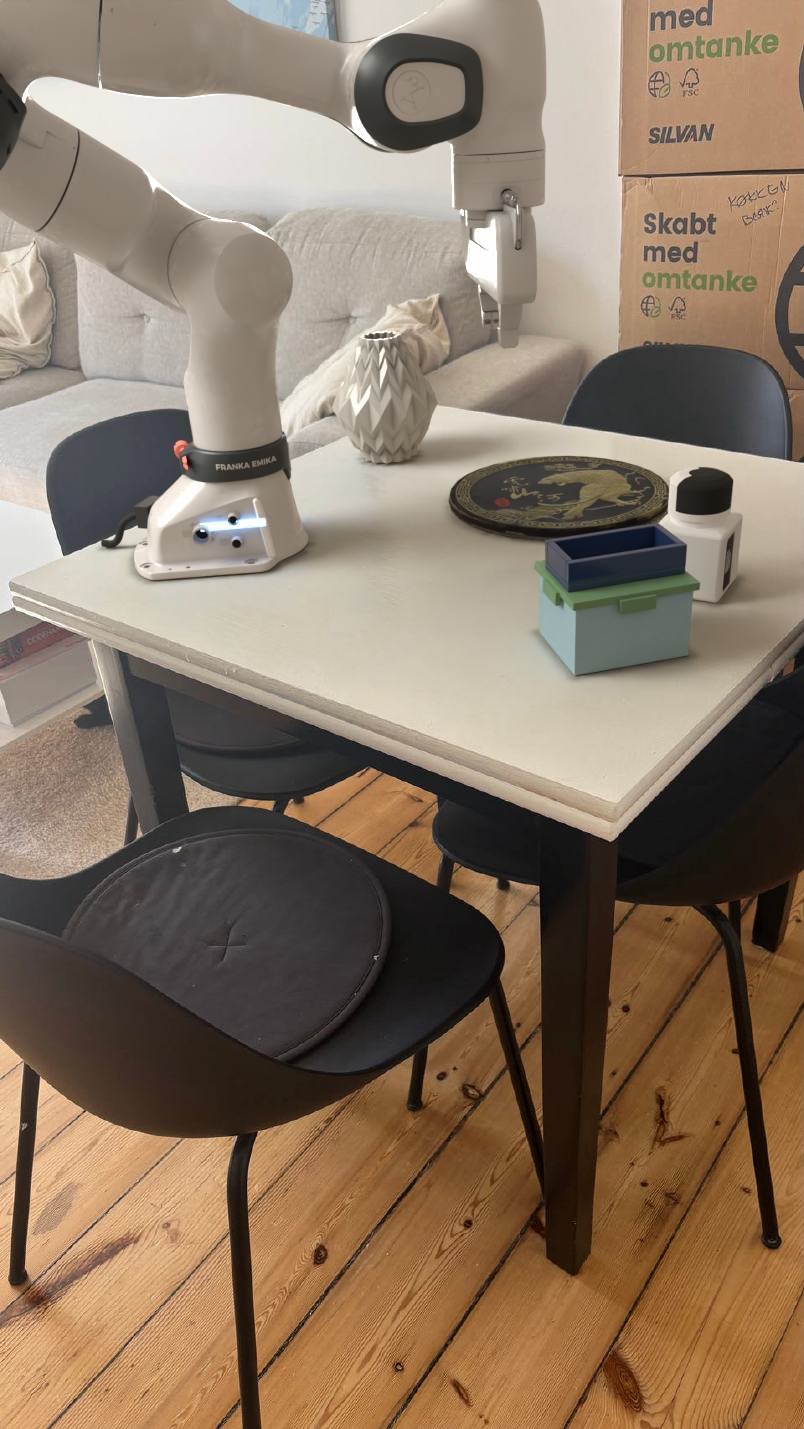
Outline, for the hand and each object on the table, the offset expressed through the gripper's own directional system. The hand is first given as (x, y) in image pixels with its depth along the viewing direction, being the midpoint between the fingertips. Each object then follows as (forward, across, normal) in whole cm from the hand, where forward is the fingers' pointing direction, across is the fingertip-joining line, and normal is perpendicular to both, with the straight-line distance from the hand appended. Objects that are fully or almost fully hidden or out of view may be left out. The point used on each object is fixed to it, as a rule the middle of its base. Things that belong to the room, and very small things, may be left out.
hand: (499, 337), depth 107 cm
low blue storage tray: (+20, -16, -8) cm, 27 cm away
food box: (+28, -17, -8) cm, 33 cm away
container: (+28, -5, -21) cm, 35 cm away
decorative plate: (+28, +26, -13) cm, 40 cm away
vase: (+28, +54, +8) cm, 61 cm away
